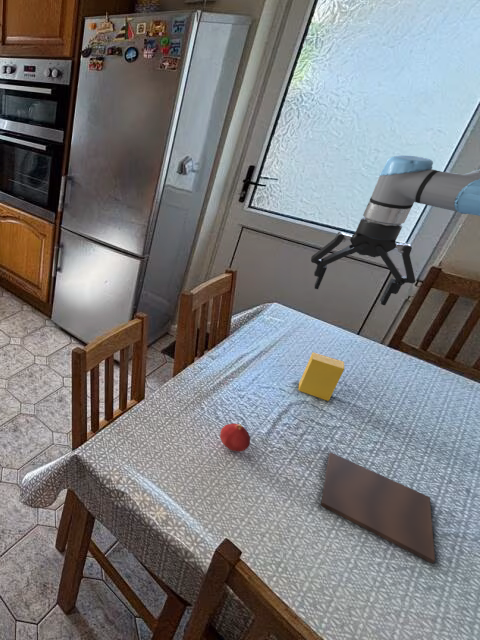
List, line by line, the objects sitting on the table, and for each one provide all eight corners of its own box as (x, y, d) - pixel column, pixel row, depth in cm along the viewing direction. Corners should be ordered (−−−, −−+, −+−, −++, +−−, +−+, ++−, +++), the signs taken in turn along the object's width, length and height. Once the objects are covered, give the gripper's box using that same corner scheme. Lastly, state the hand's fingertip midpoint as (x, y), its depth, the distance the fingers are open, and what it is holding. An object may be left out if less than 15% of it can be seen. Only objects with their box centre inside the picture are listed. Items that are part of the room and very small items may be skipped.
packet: (328, 393, 111) (344, 361, 107) (328, 401, 109) (344, 369, 104) (298, 383, 115) (312, 352, 110) (298, 390, 112) (312, 358, 108)
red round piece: (218, 434, 100) (226, 410, 97) (246, 445, 97) (255, 421, 93) (215, 451, 96) (223, 426, 92) (244, 463, 93) (254, 439, 89)
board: (427, 500, 84) (429, 497, 84) (432, 564, 74) (435, 560, 74) (328, 454, 94) (330, 451, 94) (320, 505, 84) (322, 502, 83)
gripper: (452, 226, 96) (410, 303, 105) (318, 206, 110) (291, 275, 119) (460, 237, 91) (415, 316, 100) (317, 214, 105) (290, 286, 114)
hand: (348, 294), depth 110 cm, fingers open, 13 cm apart
